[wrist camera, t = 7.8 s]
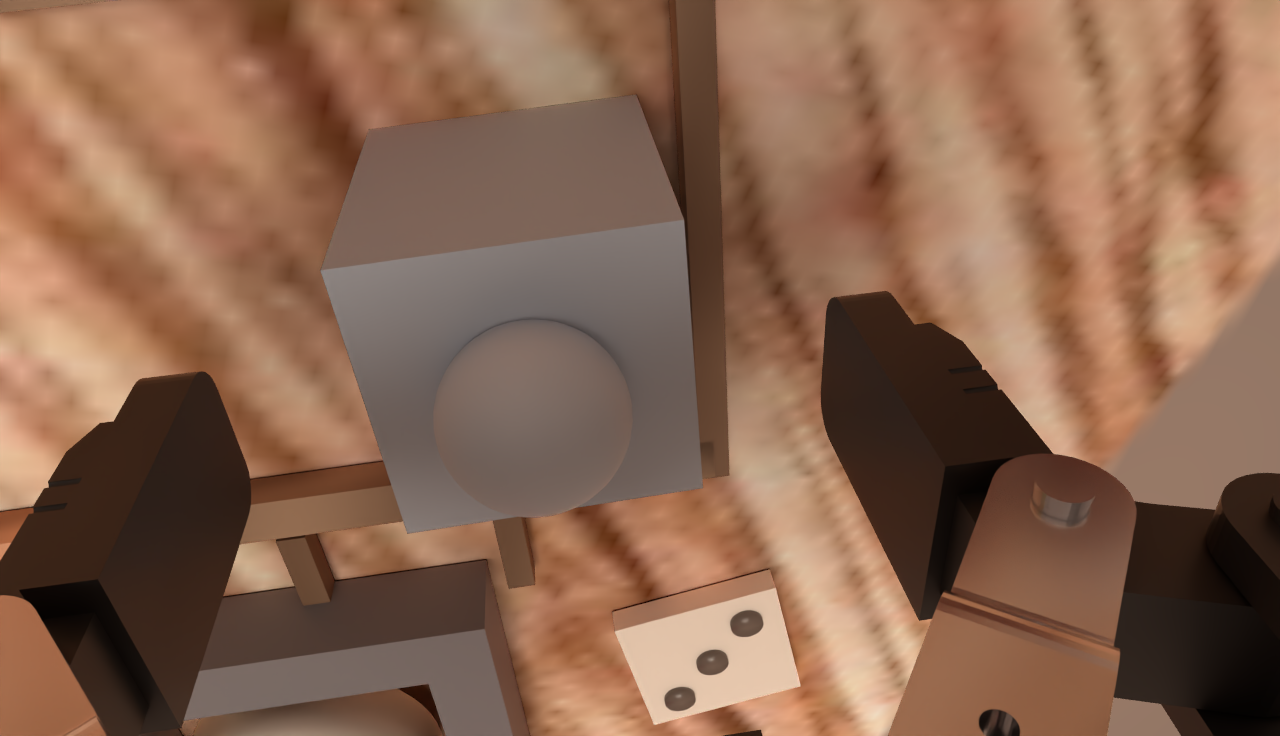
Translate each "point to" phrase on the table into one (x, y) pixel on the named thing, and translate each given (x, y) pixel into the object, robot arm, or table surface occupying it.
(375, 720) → the dome
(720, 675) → the die tile
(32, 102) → the table surface
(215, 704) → the gray square frame
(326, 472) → the open rectangular frame
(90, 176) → the table surface
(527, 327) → the cube with round knob
